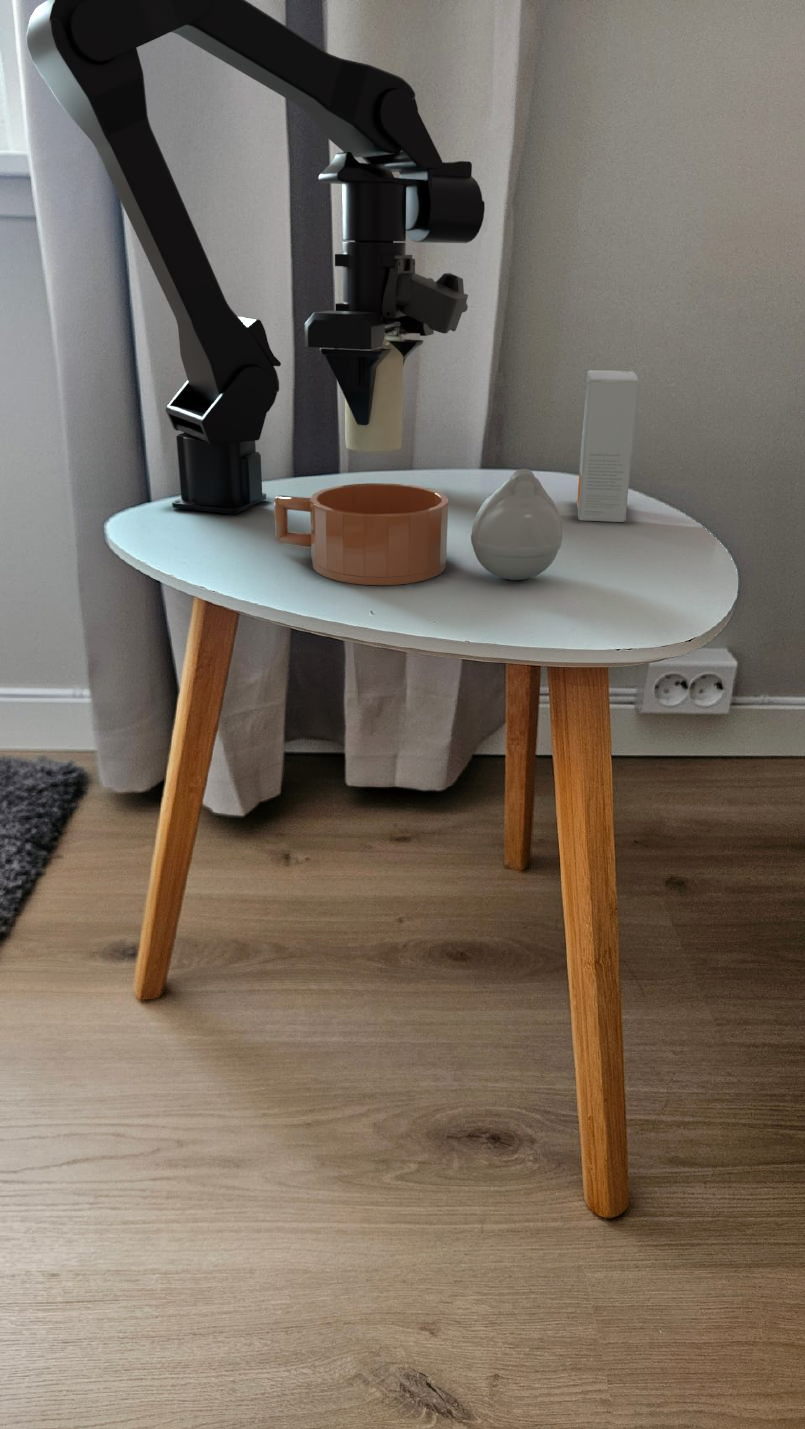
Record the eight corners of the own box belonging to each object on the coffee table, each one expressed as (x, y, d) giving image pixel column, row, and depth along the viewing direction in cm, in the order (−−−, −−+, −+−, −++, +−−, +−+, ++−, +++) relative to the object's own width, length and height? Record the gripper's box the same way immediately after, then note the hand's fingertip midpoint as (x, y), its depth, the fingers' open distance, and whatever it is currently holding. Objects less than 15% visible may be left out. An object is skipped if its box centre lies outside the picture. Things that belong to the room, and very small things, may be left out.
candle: (395, 454, 95) (396, 342, 90) (339, 451, 96) (337, 340, 91) (406, 443, 99) (408, 337, 95) (353, 441, 100) (352, 335, 96)
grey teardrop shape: (542, 561, 76) (550, 455, 73) (570, 589, 70) (580, 475, 66) (458, 564, 75) (462, 456, 72) (479, 593, 69) (485, 477, 66)
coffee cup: (461, 554, 78) (464, 490, 75) (421, 592, 69) (423, 521, 67) (303, 536, 82) (301, 475, 79) (246, 570, 73) (243, 502, 71)
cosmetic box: (575, 504, 93) (587, 369, 88) (621, 506, 92) (636, 371, 87) (576, 521, 87) (589, 378, 82) (625, 523, 87) (641, 379, 82)
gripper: (427, 243, 79) (422, 442, 86) (487, 244, 95) (479, 412, 102) (299, 241, 83) (304, 433, 89) (378, 242, 99) (377, 405, 105)
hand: (373, 420), depth 96 cm, fingers closed on candle, 5 cm apart
